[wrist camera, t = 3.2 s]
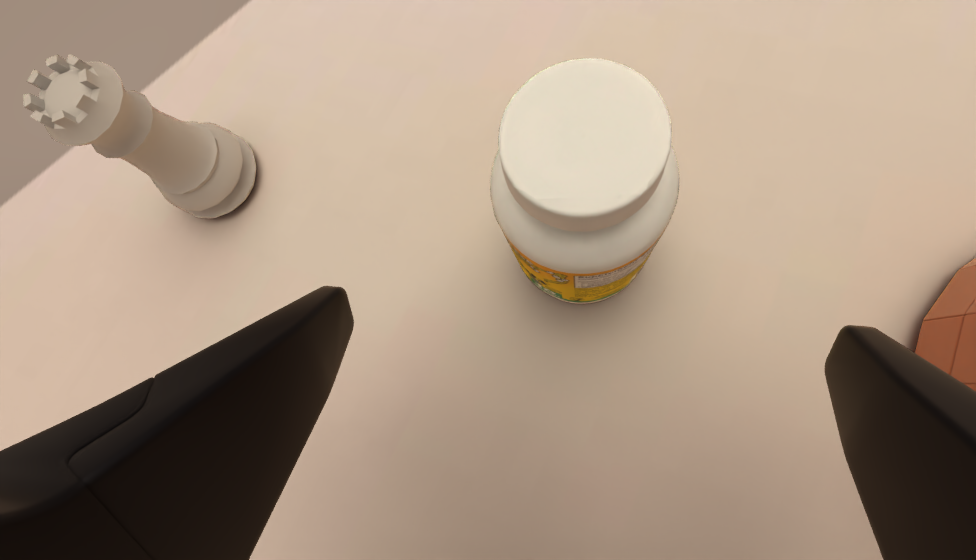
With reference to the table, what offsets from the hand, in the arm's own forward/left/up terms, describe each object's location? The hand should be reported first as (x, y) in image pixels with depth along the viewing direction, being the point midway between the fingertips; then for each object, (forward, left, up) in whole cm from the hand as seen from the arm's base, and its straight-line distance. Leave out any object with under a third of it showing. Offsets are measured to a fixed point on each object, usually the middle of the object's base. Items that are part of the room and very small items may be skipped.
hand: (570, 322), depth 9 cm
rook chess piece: (+16, +9, -11) cm, 22 cm away
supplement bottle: (+3, -3, -11) cm, 12 cm away
